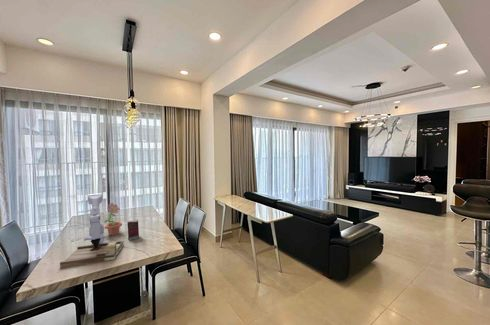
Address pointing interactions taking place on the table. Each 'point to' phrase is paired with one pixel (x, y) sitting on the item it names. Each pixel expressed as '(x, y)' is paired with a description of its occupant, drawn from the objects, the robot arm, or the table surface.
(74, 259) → the trap box
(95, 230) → the robot arm
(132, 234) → the supplement box
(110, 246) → the block
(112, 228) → the decorative flower
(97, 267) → the table surface
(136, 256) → the table surface
